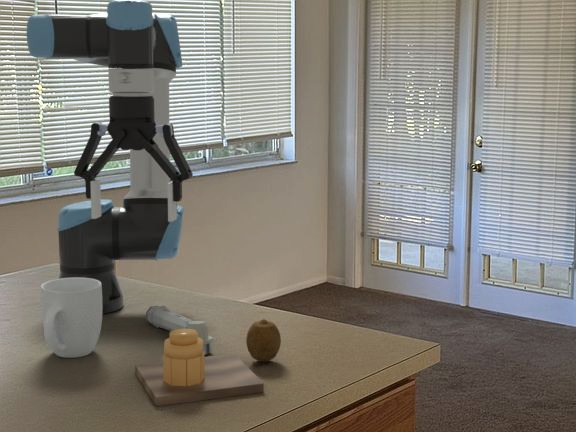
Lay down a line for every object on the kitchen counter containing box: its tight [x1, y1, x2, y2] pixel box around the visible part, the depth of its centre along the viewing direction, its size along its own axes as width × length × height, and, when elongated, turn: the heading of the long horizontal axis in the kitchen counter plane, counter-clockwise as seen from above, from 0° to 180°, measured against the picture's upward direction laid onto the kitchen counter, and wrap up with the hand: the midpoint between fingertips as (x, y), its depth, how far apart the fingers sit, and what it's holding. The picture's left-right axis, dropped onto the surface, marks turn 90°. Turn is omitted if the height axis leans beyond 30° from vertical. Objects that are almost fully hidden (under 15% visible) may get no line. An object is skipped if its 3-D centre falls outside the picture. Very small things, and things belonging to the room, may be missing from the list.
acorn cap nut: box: [162, 329, 205, 386], centre depth 147 cm, size 6×6×8 cm
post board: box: [134, 353, 265, 407], centre depth 150 cm, size 16×18×6 cm
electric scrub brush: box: [145, 305, 214, 356], centre depth 174 cm, size 5×7×25 cm
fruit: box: [245, 318, 282, 364], centre depth 161 cm, size 6×6×8 cm
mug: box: [40, 277, 104, 359], centre depth 163 cm, size 15×11×13 cm
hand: (134, 219), depth 153 cm, fingers open, 13 cm apart
